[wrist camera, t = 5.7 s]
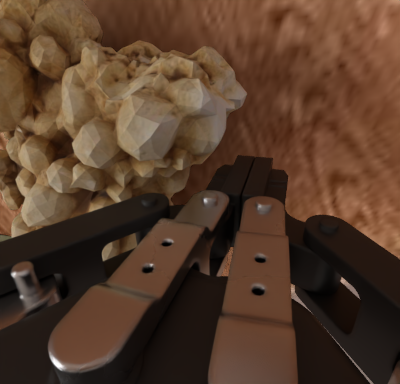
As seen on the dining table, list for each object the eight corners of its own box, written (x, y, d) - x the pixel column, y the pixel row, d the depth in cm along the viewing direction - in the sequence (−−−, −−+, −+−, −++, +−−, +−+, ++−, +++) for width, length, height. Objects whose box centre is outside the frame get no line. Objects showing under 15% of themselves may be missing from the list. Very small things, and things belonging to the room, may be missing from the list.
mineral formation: (279, 67, 15) (178, 282, 22) (59, -33, 17) (34, 188, 25) (219, 72, 8) (101, 381, 15) (-127, -94, 11) (-86, 236, 18)
